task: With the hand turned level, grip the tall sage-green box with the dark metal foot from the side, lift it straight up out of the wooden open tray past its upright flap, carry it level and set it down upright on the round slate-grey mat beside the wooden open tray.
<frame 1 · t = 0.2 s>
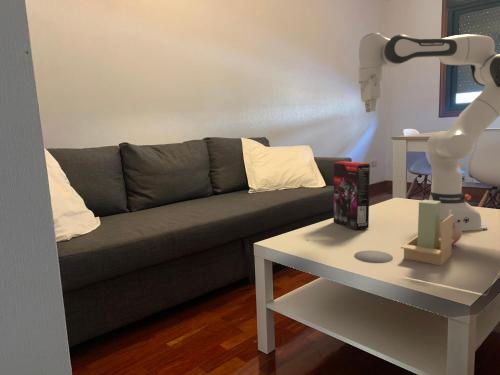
hand: (370, 111, 160), 48 cm above the table, tool pointing down, fingers open, 8 cm apart
slate mat: (373, 258, 129), on the table
graphics card box: (350, 225, 170), on the table
decorative fruit: (447, 246, 139), on the table
wooden open tray: (427, 258, 127), on the table
tall box: (427, 256, 127), resting on wooden open tray
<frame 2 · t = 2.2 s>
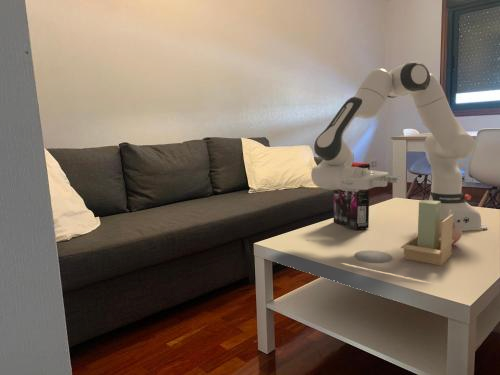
hand: (392, 182, 131), 24 cm above the table, tool horizontal, fingers open, 8 cm apart
nothing on the table moved.
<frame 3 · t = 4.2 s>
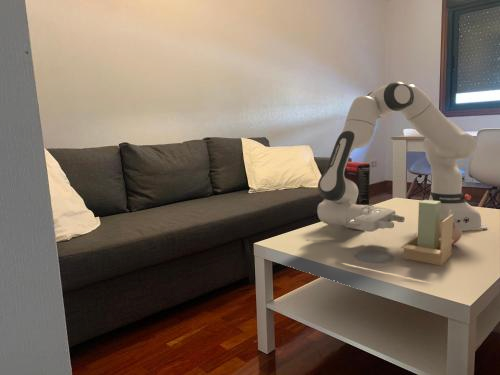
hand: (398, 222, 132), 10 cm above the table, tool horizontal, fingers open, 8 cm apart
nothing on the table moved.
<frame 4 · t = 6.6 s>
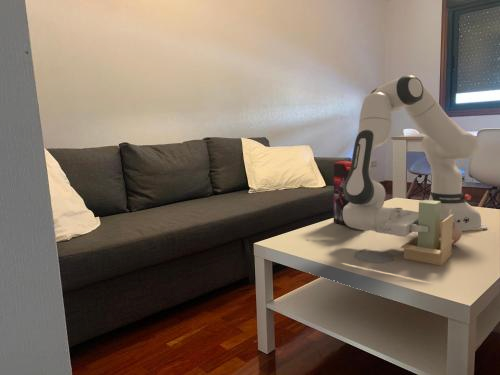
hand: (431, 226, 125), 11 cm above the table, tool horizontal, fingers closed on tall box, 5 cm apart
tall box: (427, 256, 127), point 1 cm above the table, touching wooden open tray, gripper
everything else where it was.
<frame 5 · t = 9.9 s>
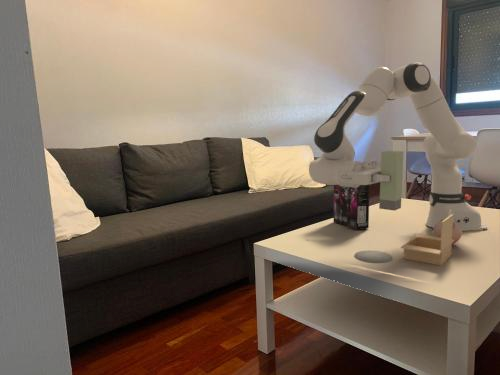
hand: (394, 177, 123), 27 cm above the table, tool horizontal, fingers closed on tall box, 5 cm apart
tall box: (390, 208, 126), point 17 cm above the table, touching gripper
everything else where it was.
when the fingers open (12 cm above the table, at t = 13.5 s): tall box drops 1 cm, resting on slate mat.
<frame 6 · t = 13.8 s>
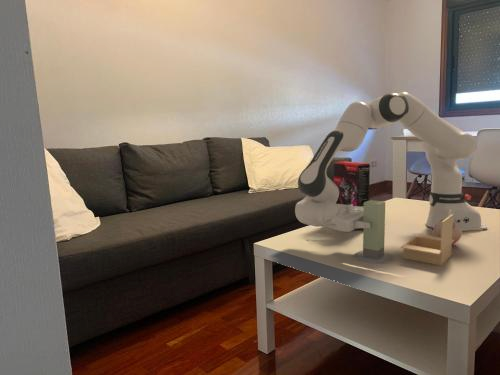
hand: (376, 222, 126), 12 cm above the table, tool horizontal, fingers open, 8 cm apart
tall box: (373, 256, 129), point 1 cm above the table, touching slate mat
everything else where it was.
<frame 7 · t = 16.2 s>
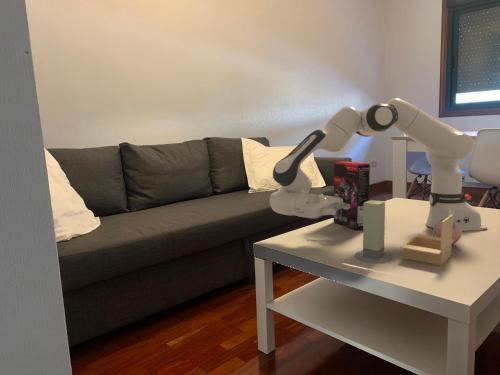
hand: (342, 209, 136), 14 cm above the table, tool horizontal, fingers open, 8 cm apart
nothing on the table moved.
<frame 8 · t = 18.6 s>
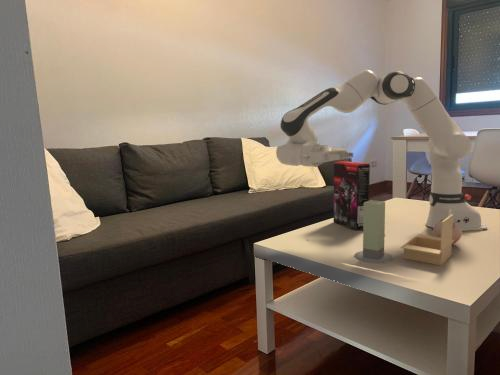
hand: (346, 156, 142), 32 cm above the table, tool horizontal, fingers open, 8 cm apart
nothing on the table moved.
at the end: tall box 0.1 cm off-centre on the slate mat, point 0.6 cm above the slate mat's base; tall box tilted 0°; the gripper is holding nothing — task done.
